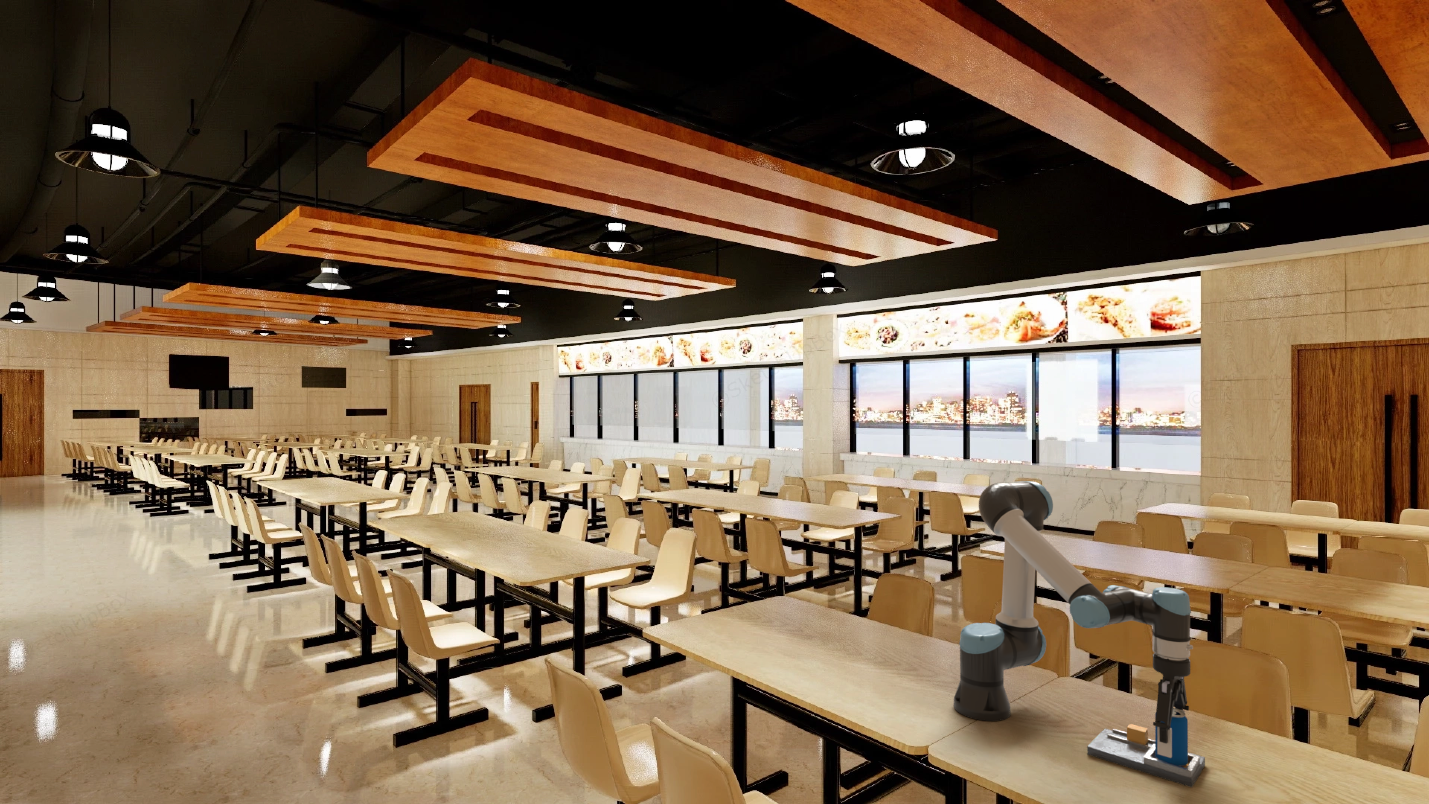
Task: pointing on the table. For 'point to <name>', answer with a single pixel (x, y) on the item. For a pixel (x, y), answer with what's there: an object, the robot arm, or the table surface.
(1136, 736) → the block
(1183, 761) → the beverage can
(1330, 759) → the table surface
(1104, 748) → the panel
